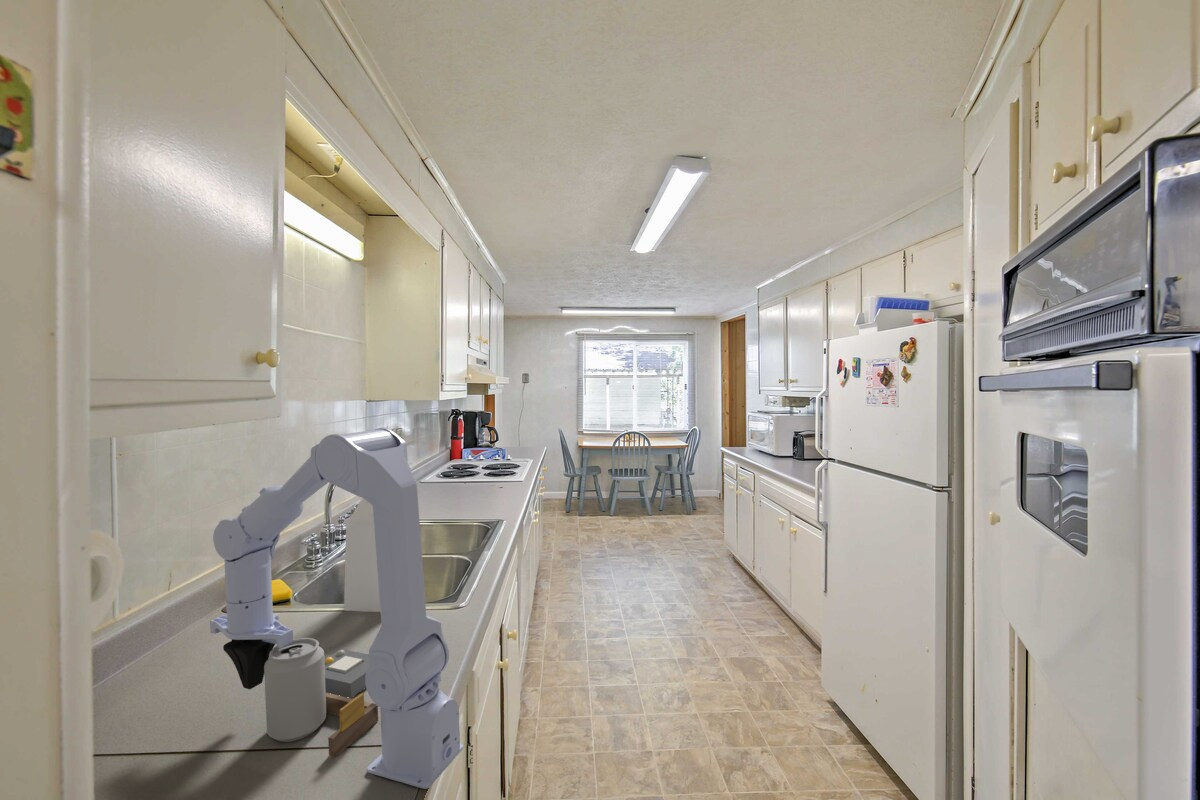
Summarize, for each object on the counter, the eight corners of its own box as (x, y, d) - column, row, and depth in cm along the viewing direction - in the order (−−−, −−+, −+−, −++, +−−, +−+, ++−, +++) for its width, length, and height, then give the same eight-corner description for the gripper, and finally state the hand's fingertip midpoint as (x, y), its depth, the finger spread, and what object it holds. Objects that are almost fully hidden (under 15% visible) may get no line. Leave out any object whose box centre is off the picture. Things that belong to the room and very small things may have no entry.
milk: (419, 591, 127) (416, 481, 126) (396, 612, 116) (393, 492, 115) (371, 589, 128) (368, 481, 127) (343, 610, 117) (339, 492, 116)
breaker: (362, 672, 91) (362, 659, 91) (345, 683, 88) (345, 670, 88) (345, 668, 92) (345, 655, 92) (328, 679, 89) (328, 666, 89)
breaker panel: (387, 672, 92) (386, 654, 92) (351, 699, 85) (350, 679, 84) (341, 662, 96) (340, 645, 95) (303, 687, 88) (302, 668, 88)
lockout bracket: (378, 720, 79) (377, 684, 79) (334, 757, 72) (333, 717, 71) (325, 707, 82) (324, 672, 82) (278, 741, 75) (277, 702, 75)
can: (313, 705, 83) (310, 629, 82) (335, 725, 78) (332, 644, 78) (258, 731, 77) (255, 649, 77) (279, 753, 72) (275, 666, 72)
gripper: (309, 591, 81) (312, 679, 82) (240, 580, 86) (243, 663, 87) (266, 611, 74) (270, 706, 75) (194, 597, 79) (198, 687, 80)
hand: (253, 685), depth 80 cm, fingers closed
